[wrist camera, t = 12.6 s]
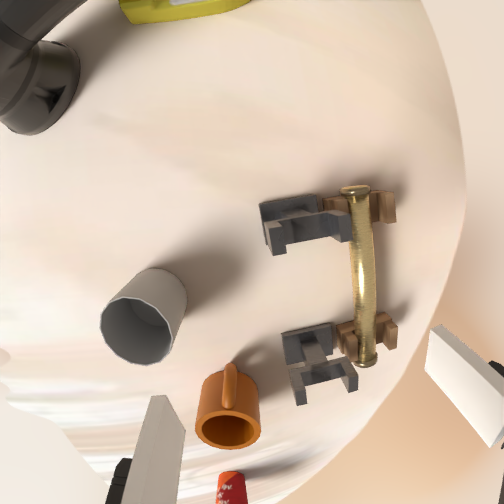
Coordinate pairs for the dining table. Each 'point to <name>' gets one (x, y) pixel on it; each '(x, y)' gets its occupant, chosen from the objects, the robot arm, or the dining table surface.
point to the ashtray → (174, 9)
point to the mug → (228, 410)
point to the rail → (362, 273)
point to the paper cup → (231, 488)
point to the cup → (144, 317)
